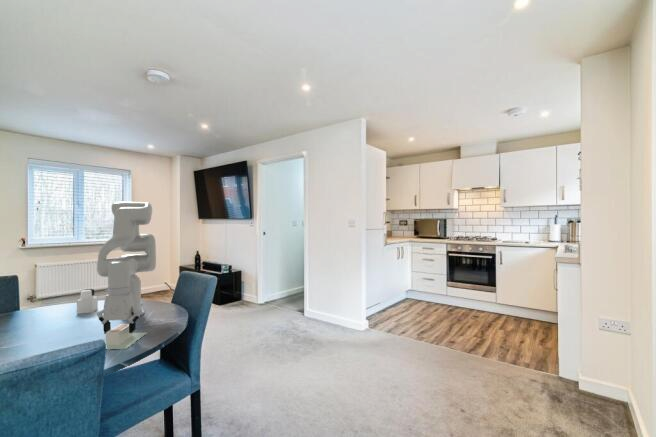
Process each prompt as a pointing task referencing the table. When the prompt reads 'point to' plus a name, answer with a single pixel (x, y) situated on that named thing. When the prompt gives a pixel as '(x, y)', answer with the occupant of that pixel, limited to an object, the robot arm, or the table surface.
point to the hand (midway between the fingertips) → (119, 332)
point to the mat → (126, 342)
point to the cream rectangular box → (118, 335)
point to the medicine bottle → (87, 302)
